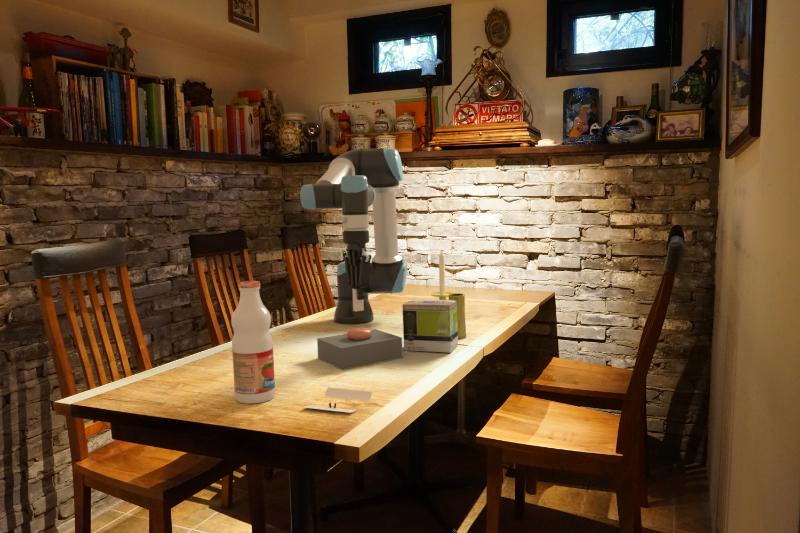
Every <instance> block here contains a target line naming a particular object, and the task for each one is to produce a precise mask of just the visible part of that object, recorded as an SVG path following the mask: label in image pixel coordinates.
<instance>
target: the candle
mask: <svg viewBox="0 0 800 533" xmlns="http://www.w3.org/2000/svg"><path fill="white" fill-rule="evenodd" d="M445 258H446V255H445V254H444V252H443V249H441V251H440V254H439V255H438V260H439V261H438V266H439V267H438V268H439V269H438V274H439V277H438V278H439V279H438V280H439V292H433V293H431V296H432V297H435V298H436V297H439V298H438V300H447V298H449V294H454V293H455V292H454V293H453V292H448V291H447V292H446V260H445Z"/></svg>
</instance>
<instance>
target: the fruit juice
mask: <svg viewBox="0 0 800 533" xmlns="http://www.w3.org/2000/svg"><path fill="white" fill-rule="evenodd" d="M260 282H261V281H258V280H246V281H240V282H239V283H238V290H239V293H240V295H239V299H238V300H239V302H238V305H237V306H236V308H235V310H234V311H233V313H232V314H231V319H230V322H231V326H232V330H233V335H232V340H231V349H232V350H231V352H232V366H233V367H232V369H233V386H234V397H235V401H236V402H238V403H241V404H248V405H254V404H261V403H265V402H268V401H270V400H272V399H274V397H275V395H276V385H275V384H276V383H275V382H276V381H275V380H276V379H275V362H274V361H275V360H274V359H275V358H274V342H273V336H272V334H271V331H270V327H271V323H272V318H271V317H272V316H271V313H270V310H268V309H267V307H266V306H265V305H264V303H263V301H262V299H261V294H260V289H261V283H260Z"/></svg>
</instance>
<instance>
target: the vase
mask: <svg viewBox="0 0 800 533" xmlns="http://www.w3.org/2000/svg"><path fill="white" fill-rule="evenodd" d="M465 298H466V297H465V293H458V292H457V293H455V292H454V294H449V296H448V300H457V323H458V340H460V339H461V340H462V339H465V338H467V330H466V329H467V328H466V326H467V325H466V310H465V307H466V305H465V304H466V303H465V300H466V299H465Z"/></svg>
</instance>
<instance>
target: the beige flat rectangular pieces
mask: <svg viewBox="0 0 800 533" xmlns="http://www.w3.org/2000/svg"><path fill="white" fill-rule="evenodd" d="M372 394H373V391H369V390H368V391H367V390H359V389H358V390H357V389H347V388H338V387H337V388H335V387H327V388H326V390H325V394H324V397H327V398H339V399H349V400H356V401H358V400H359V401H366V402H367V401H368V402H370V401H371V398H372ZM303 408H306V409H312V410H313V409H315V410H322V411H332V412H339V413H340V412H341V413H354V412H356V411H357V410H356V409H347V408H340V407H339V408H338V407H337V402H335V403H334V405H333V407H332V402H331V401H329V403H328V406H322V405H315V404H314V405H313V404H310V405H307V406H303Z"/></svg>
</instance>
